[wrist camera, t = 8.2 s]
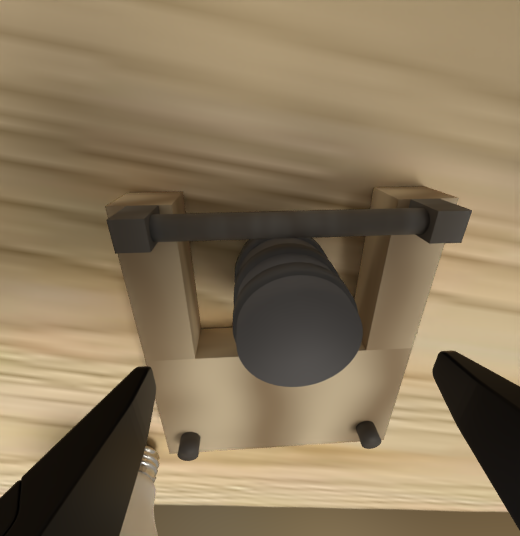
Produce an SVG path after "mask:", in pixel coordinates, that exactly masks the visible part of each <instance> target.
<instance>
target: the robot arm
mask: <svg viewBox="0 0 520 536" xmlns="http://www.w3.org/2000/svg"><path fill="white" fill-rule="evenodd" d="M433 377H434V379H435V381H436V383H437V386H438V388H439V390H440V392H441V394H442V396H443V398H444V400H445V402H446V404H447V406H448V408H449V410H450V412H451V415H452V417H453V419H454V421H455V422H456V424H457V426H458V428H459V430H460V432H461V433H462V435H463V437H464V438H465V440H466V442H467V443H468V445H469V447H470V448H471V450H472V452H473V453H474V455H475V457H476V458H477V460H478V462H479V463H480V465H481V467H482V468H483V470H484V472H485V473H486V475H487V477H488V478H489V480H490V482H491V483H492V485H493V487H494V488H495V490H496V492H497V493H498V495H499V497H500V498H501V500H502V502H503V503H504V505H505V507H506V508H507V510H508V512H509V513H510V515H511V517H512V518H513V520H514V522H515V523H516V525H517V527H518V528H519V530H520V386H518V385H516V384H514V383H512V382H510V381H509V380H507V379H505V378H503V377H501V376H500V375H498V374H496V373H494V372H492V371H490V370H489V369H487V368H485V367H483V366H481V365H479V364H478V363H476V362H474V361H472V360H470V359H469V358H467V357H465V356H463V355H461V354H459V353H458V352H456V351H441V352H440V353H439V354H438V356H437V359H436V362H435V364H434V367H433ZM155 396H156V383H155V379H154V375H153V371H152V368H151V367H149V366H144V367H137V368H135V369H134V370H133V371H132V372H131V373H130V374H129V375H128V376H127V377H125V378H124V379H123V380H122V381H121V382H120V383H119V384H118V385H117V386H116V387H115V388H114V389H113V390H112V391H111V392H110V393H109V394H108V395H107V396H106V397H105V398H104V399H103V400H102V401H101V402H100V403H98V404H97V405H96V406H95V407H94V408H93V409H92V410H91V411H90V412H89V413H88V414H87V415H86V416H85V417H84V418H83V419H82V420H81V421H80V422H79V423H78V424H77V425H76V426H75V427H74V428H73V429H71V430H70V431H69V432H68V433H67V434H66V435H65V436H64V437H63V438H62V439H61V440H60V441H59V442H58V443H57V444H56V445H55V446H54V447H53V448H52V449H51V450H50V451H49V452H48V453H47V454H45V455H44V456H43V457H42V458H41V459H40V460H39V461H38V462H37V463H36V464H35V465H34V466H33V467H32V468H31V469H30V470H29V471H28V472H27V473H26V474H25V475H24V476H23V477H22V478H21V480H19V481H17V482H16V483H15V484H14V485H13V486H12V487H11V488H10V489H9V490H8V491H7V492H6V493H5V494H4V495H3V496H2V497H1V498H0V536H119V535H120V532H121V529H122V525H123V522H124V519H125V515H126V512H127V508H128V505H129V502H130V498H131V495H132V492H133V488H134V485H135V482H136V478H137V475H138V471H139V468H140V465H141V461H142V458H143V455H144V451H145V447H146V443H147V438H148V433H149V428H150V422H151V417H152V412H153V406H154V401H155Z"/></svg>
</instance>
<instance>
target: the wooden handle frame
mask: <svg viewBox="0 0 520 536" xmlns="http://www.w3.org/2000/svg"><path fill="white" fill-rule="evenodd" d="M458 199H459V198H457V197H454V196H451V195H448V194H445V193H442V192H440V191H437V190H434V189H431V188H428V187H425V186H421V187H374V189H373V195H372V200H371V206H370V209H349V210H309V211H269V212H228V213H188V214H186V211H185V203H184V195H183V192H139V193H126V194H125V195H123V196H121V197H120V198H118V199H116V200H115V201H113V202H111V203H110V204H108V205H106V206H105V208H106V211H107V215H108V219H107V224H108V227H109V231H110V235H111V239H112V242H113V246H114V250H115V254H116V253H118V257H119V261H120V265H121V269H122V273H123V276H124V280H125V284H126V288H127V292H128V296H129V299H130V303H131V307H132V311H133V315H134V319H135V322H136V326H137V330H138V334H139V338H140V341H141V345H142V349H143V353H144V357H145V361H146V364H147V366H149V367H151V368H152V371H153V375H154V379H155V383H156V396H155V399H156V403H157V407H158V410H159V414H160V418H161V422H162V426H163V429H164V433H165V437H166V441H167V445H168V449H169V452H170V454H175V453H178V457H179V458H180V459H182V460H185V461H191V460H194V459H196V458H197V457H198V454H199V452H206V451H221V450H236V449H252V448H267V447H282V446H297V445H313V444H328V443H343V442H358V441H360V442H361V444H362V446H363V447H364V448H367V449H371V448H375V447H377V446H379V445H380V443H381V440H384V437H385V434H386V430H387V427H388V424H389V421H390V418H391V414H392V411H393V408H394V405H395V401H396V398H397V395H398V392H399V389H400V385H401V382H402V379H403V376H404V373H405V369H406V366H407V363H408V360H409V356H410V353H411V350H412V347H413V344H414V340H415V337H416V334H417V331H418V327H419V324H420V321H421V318H422V315H423V311H424V308H425V305H426V302H427V298H428V295H429V292H430V289H431V286H432V282H433V279H434V276H435V273H436V270H437V266H438V263H439V260H440V257H441V253H442V250H443V247H444V244H445V243H461V242H462V239H463V236H464V233H465V230H466V227H467V224H468V221H469V218H470V215H471V212H472V210H469V209H467V208H464V207H461V206H459V205H457V202H458ZM347 236H365V241H364V247H363V253H362V259H361V265H360V271H359V276H358V282H357V288H356V294H355V303H356V305H357V310H358V314H359V316H360V319H361V322H362V326H363V337H362V342H361V346H360V348H359V350H358V352H357V354H356V355H355V357H354V358H353V360H352V361H351V362H350V363H349V364H348V365H347V366H346V367H345V368H344V369H343V370H342V371H340V372H339V373H337V374H336V375H334V376H333V377H331V378H329V379H327V380H325V381H322V382H319V383H316V384H313V385H308V386H302V387H283V386H277V385H273V384H269V383H267V382H264V381H262V380H260V379H258V378H256V377H255V376H254V375H252V374H251V373H250V372H249V371H248V370H247V369H246V368H245V367H244V365H243V364H242V362H241V361H240V359H239V356H238V353H237V347H236V342H235V339H234V336H233V327H231V328H209V329H201V325H200V317H199V310H198V302H197V294H196V287H195V279H194V271H193V264H192V256H191V249H190V241H213V240H246V239H280V238H314V237H347Z"/></svg>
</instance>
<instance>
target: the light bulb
mask: <svg viewBox="0 0 520 536" xmlns="http://www.w3.org/2000/svg"><path fill="white" fill-rule="evenodd" d="M158 460H159V455H158V453H157V452H156V450H154V449H153V448H152V447H149V446H147V445H146V447H145V451H144V455H143V458H142V461H141V465H140V468H139V471H138V475H137V478H136V482H135V485H134V488H133V492H132V495H131V498H130V502H129V505H128V508H127V512H126V515H125V519H124V522H123V525H122V529H121V532H120V535H119V536H158V534H157V531H156V526H155V521H154V510H153V508H154V500H155V492H156V489H155V485H154V482H155V479H156V477H155V476H156V474H157V472H158V470H157V469H158V467H159V462H158Z"/></svg>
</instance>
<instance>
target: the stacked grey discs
mask: <svg viewBox="0 0 520 536" xmlns="http://www.w3.org/2000/svg"><path fill="white" fill-rule="evenodd" d="M233 336H234V339H235V342H236V347H237V353H238V356H239V359H240V361H241V362H242V364H243V365H244V367H245V368H246V369H247V370H248V371H249V372H250V373H251V374H252V375H254V376H255V377H256V378H258V379H260V380H262V381H264V382H267V383H269V384H273V385H277V386H283V387H302V386H308V385H313V384H316V383H319V382H322V381H325V380H327V379H329V378H331V377H333V376H334V375H336V374H337V373H339V372H340V371H342V370H343V369H344V368H345V367H346V366H347V365H348V364H349V363H350V362H351V361H352V360H353V358H354V357H355V355H356V354H357V352H358V350H359V348H360V346H361V342H362V337H363V326H362V322H361V319H360V316H359V314H358V310H357V305H356V303H355V300H354V298H353V296H352V295H351V293H350V292H349V290H348V288H347V287H346V285H345V284H344V282H343V281H342V280H341V279H340V277H339V275H338V273H337V272H336V270H335V268H334V267H333V265H332V264H331V262H330V261H329V260H328V258H327V256H326V255H325V253H324V251H323V250H322V248H321V247H320V245H319V244H318V243H317V242H316V241H315V240H314V239H313V238H280V239H249V240H248V241H247V242H246V244H245V245H244V247H243V248H242V250H241V253H240V255H239V257H238V259H237V262H236V266H235V286H234V310H233Z"/></svg>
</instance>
